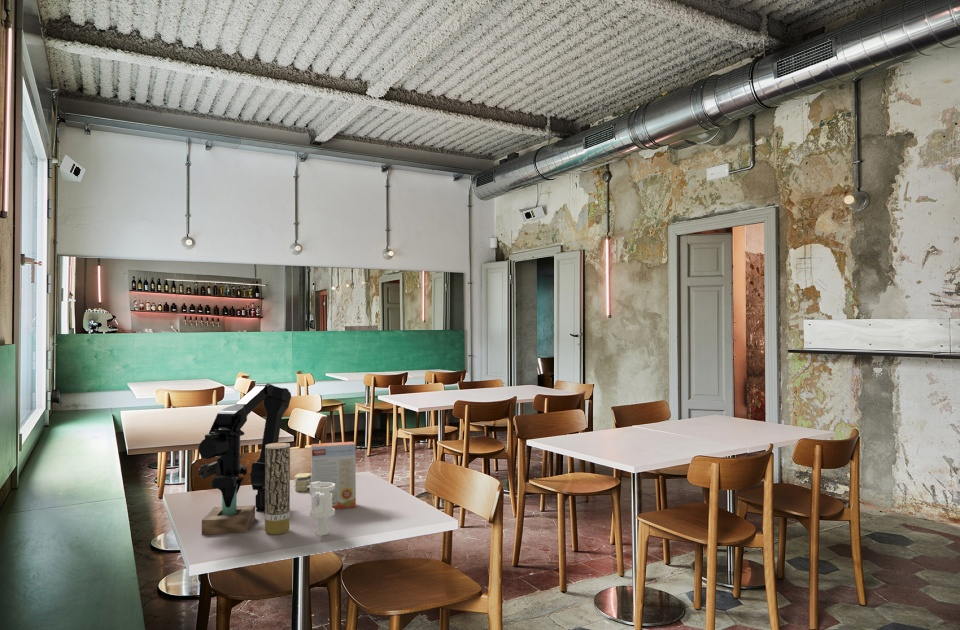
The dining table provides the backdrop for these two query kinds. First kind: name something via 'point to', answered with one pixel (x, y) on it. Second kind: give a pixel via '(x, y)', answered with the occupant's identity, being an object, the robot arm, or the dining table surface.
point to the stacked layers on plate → (302, 481)
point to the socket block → (228, 520)
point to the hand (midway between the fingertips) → (229, 505)
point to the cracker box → (336, 471)
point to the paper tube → (277, 488)
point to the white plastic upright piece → (321, 505)
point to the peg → (232, 508)
